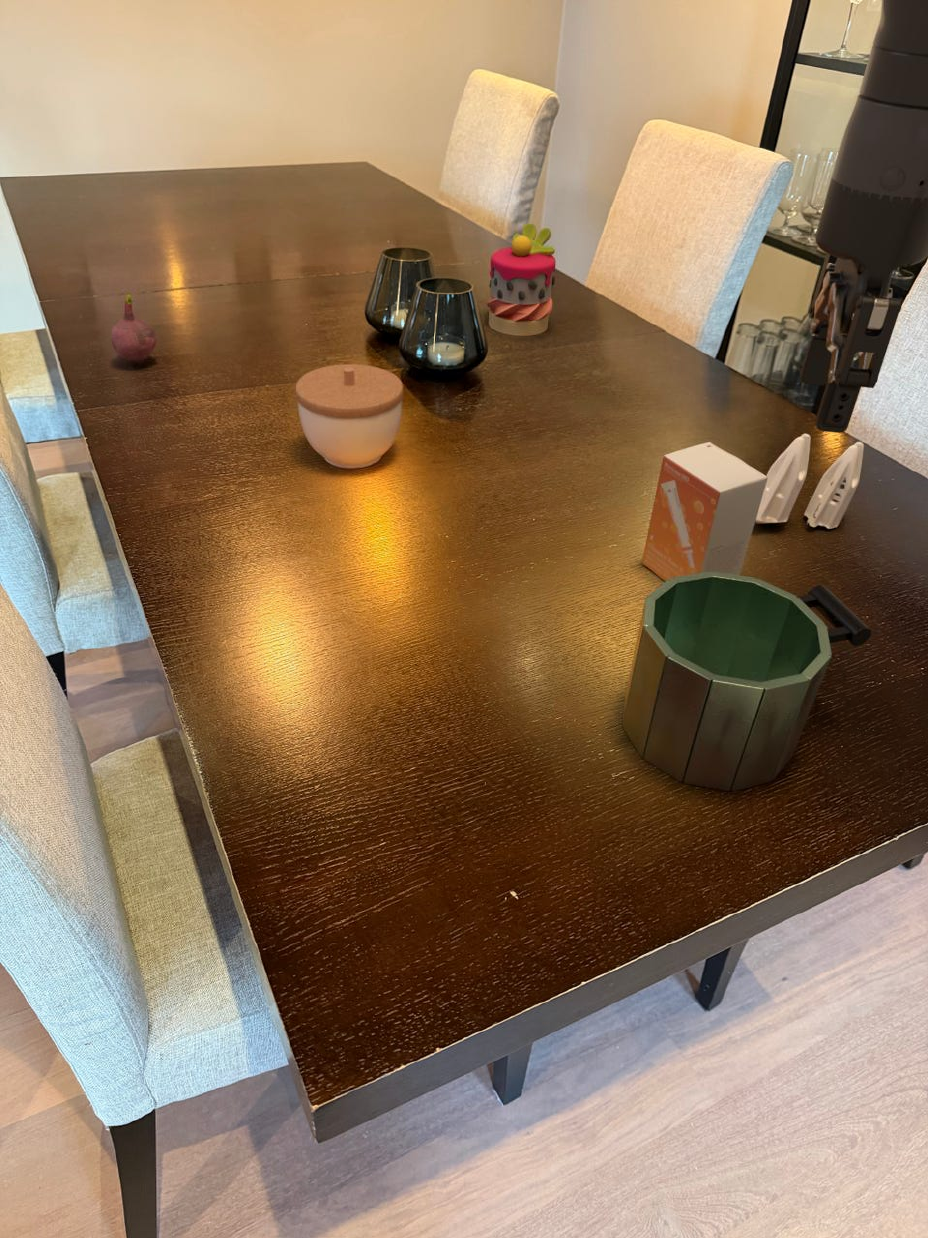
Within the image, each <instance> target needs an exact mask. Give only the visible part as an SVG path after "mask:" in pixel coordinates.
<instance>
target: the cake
mask: <svg viewBox="0 0 928 1238" xmlns="http://www.w3.org/2000/svg"><path fill="white" fill-rule="evenodd" d="M521 230H522V231H521V234H519V233H515V234H514V235H513V236H512V243H511V246H510V247H509V246H508V247H504V248H501V249H498V250H496V251H494V252H493V253H492V254H491V256H490V272H489V276H490V278H491V279H490V281H489V288H490V290H489V294H490V296H491V298H490V299H489V301H487V302H486V304H487V307H488V308H489V311H488V312H489V313H488V326H489V328H491V330H494V331H495V332H498V333H501V334H503V335H508V336H509V335H510V336H516V337H530V336H535V335H540V334H542V333H545V332H546V331H547V330H548V328H549V318H550V314H551V312H552V309H553V303H554V302H553V299H552V291H553V286H554V285H555V282H556V277H555V275H554V273H555V271H556V265H557V264H556V263H557V261H556V258H555V256H554V254H555V248H554V247H553V246H551V245H545V244H546V243H547V242H548V241H549V240H550V239H551V237H552V231H551V229H550V228H549V227H544V228H542V229H540V231H539V232H538V233H537V231H538V230H537V226H536V225H535V224H534V223H531V222H527V223H526V224H525V225H524V226H523V227H522V229H521Z"/></svg>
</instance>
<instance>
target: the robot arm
mask: <svg viewBox="0 0 928 1238" xmlns="http://www.w3.org/2000/svg"><path fill="white" fill-rule="evenodd" d="M835 160H836V161H835V163H834V167H833V170H832V174H831V178H830V181H829V185H828V189H827V193H826V196H825V200H824V203H823V205H822V206H823V207H822V210H821V214H820V218H819V221H818V226H817V228H816V232H815V235H814V239H815V244H816V245H817V247H818V248H819V249H820V250H821V251H823V252H824V253H826V254H825V257H824V261H823V265H822V267H821V271H820V274H819V278H818V281H817V284H816V288H815V291H814V295H813V298H812V301H811V305H810V306H809V309H808V317H809V319H812V320H811V322H810V324H809V334H811V336H810V339H809V341H808V346H807V350H806V352H805V357H804V360H803V364H802V367H801V370H800V373H799V378H800V381H801V382H802V384H804V385H813V386H822V387H823V386H825V388H824V391H823V394H822V397H821V401H820V403H819V406H818V410H817V413H816V417H815V420H814V424H815V426H816V429H817V430H818V431H820V432H826V433H835V434H842V433H845V431H846V430H847V429H848V427H849V424H850V421H851V418H852V416H853V412H854V410H855V406H856V403H857V401H858V399H859V395H860V393H861V392H860V391H861V389H862V388H868V389H873V388H875V386H876V384H877V382H878V380H879V375H880V372H881V370H882V367H883V364H884V360H885V356H886V354H887V351H888V348H889V344H890V342H891V339H892V336H893V332H894V330H895V327H896V324H897V321H898V318H899V315H900V312H901V310H902V299H901V298H898V297H897V298H896V297H893V292H894V291H893V290H894V289H893V288H892V287H890V286H891V281H892V274H893V273H894V271H895V270H897V269H898V268H900V267H903V266H908V267H910V266H914V265H918V264H919V263H921V262H923V261H925V259H927V257H928V0H881V9H880V18H879V22H878V26H877V29H876V31H875V35H874V38H873V42H872V45H871V49H870V53H869V56H868V60H867V64H866V67H865V71H864V74H863V78H862V81H861V85H860V89H859V92H858V95H857V97H856V101H855V104H854V107H853V109H852V111H851V114H850V116H849V119H848V121H847V123H846V127H845V129H844V131H843V135H842V138H841V141H840V145H839V149H838V152H837V156H836V159H835ZM856 354H857V355H859V361H858V362H859V363H858V367H855V366H852V364H853V360H854V357H855V355H856Z"/></svg>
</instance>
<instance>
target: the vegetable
mask: <svg viewBox="0 0 928 1238" xmlns="http://www.w3.org/2000/svg"><path fill="white" fill-rule="evenodd" d="M132 303H133V300H132V296H131V294H126V298H125V299H124V307H123V308H124V314H123V317H122V318H121V319H120V320H118V321H117V322H116V323H115V324H114V325H113V327H112V329H111V332H110V341H111V345H112V347H113V349H114V351H115V352H116V353H117V355H119V356H121V357H122V358H123V359H125V360H128V361H132V362H135V363H136V364H142V363H143V362H144V361H146V360H147V359H148V358H149V356H150V355H151V354H152V352H154V349H155V347H156V343H157V336H156V332H155V330H154V328H153V326H152V325H151V324H149V323H148V322H146V321H145V320H143V319H142V318H139V317H136V316H135V315H134V313H133V307H132V305H133V304H132Z"/></svg>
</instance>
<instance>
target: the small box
mask: <svg viewBox="0 0 928 1238" xmlns="http://www.w3.org/2000/svg"><path fill="white" fill-rule="evenodd" d="M767 479H768V477H767V475H765V474H764V473H762V472H760V471H759V470H757V469H755V468H754V467H752V466H751V465H749V464H747V463H746V462H745V461H743V460H742V459H741V458H739V457H737V456H736V455H734V454H731V453H729V452H727V451H726V450H724V449H722V448H721V447H719V446H717V445H715V444H713V443H712V442H710V441H708V442H704V443H699V444H696V445H692V446H689V447H686V448H682V449H679V450H676V451H673V452H670V453H667V454H664V455H663V457H662V461H661V468H660V471H659V477H658V481H657V485H656V490H655V491H656V492H655V496H654V500H653V505H652V510H651V515H650V521H649V526H648V528H647V534H646V535H647V536H646V539H645V544H644V550H643V554H642V559H641V564H642V565H643V566H644V567H646V568H648V569H649V570H651V571H652V572H653V573H654V574H656V575H657V576H658V577H659V578H661V580H663V581H664V582H666V581H667V580H668V579H670V578H673V577H678V576H684V575H690V574H696V573H702V572H708V571H710V572H711V571H714V572H721V573H727V574H734V575H741V573H742V570H743V566H744V562H745V559H746V556H747V551H748V548H749V544H750V541H751V538H752V534H753V530H754V528H755V527H754V526H755V524H756V521H755V520H756V517H757V513H758V510H759V506H760V503H761V499H762V496H763V492H764V489H765V485H766V482H767Z"/></svg>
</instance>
